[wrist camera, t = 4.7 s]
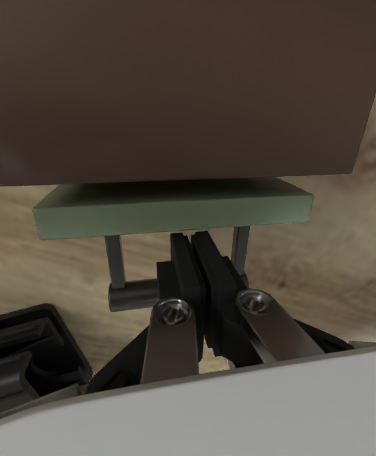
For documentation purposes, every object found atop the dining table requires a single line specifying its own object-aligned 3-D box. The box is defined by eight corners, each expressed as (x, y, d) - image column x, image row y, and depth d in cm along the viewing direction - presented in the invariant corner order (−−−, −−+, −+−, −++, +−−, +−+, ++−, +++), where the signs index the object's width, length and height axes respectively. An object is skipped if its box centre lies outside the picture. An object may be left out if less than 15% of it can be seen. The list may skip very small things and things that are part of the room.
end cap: (-50, 322, 18) (-147, 430, 12) (49, 296, 18) (5, 386, 12) (19, 399, 22) (-25, 505, 16) (96, 375, 23) (81, 470, 17)
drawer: (238, 245, 18) (287, 310, 12) (93, 257, 17) (68, 340, 11) (283, -163, 10) (496, -567, 4) (6, -222, 8) (-329, -1073, 2)
